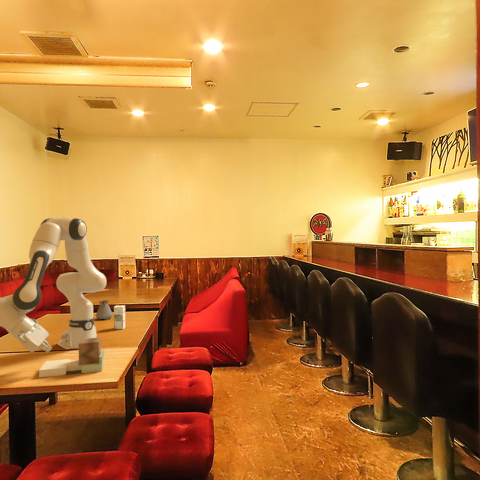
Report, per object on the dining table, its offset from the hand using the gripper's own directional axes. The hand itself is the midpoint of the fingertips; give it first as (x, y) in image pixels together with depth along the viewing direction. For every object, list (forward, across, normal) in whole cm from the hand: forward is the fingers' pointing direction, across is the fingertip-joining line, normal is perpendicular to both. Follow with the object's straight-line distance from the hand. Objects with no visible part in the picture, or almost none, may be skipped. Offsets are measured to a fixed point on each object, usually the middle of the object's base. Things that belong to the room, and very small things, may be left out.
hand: (50, 350), depth 157 cm
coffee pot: (+17, +104, -2) cm, 105 cm away
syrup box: (+25, +73, -11) cm, 78 cm away
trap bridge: (+13, 0, 0) cm, 13 cm away
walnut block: (+15, 0, -7) cm, 17 cm away
